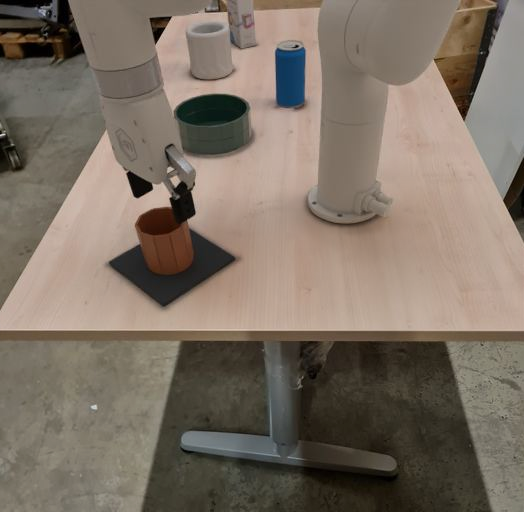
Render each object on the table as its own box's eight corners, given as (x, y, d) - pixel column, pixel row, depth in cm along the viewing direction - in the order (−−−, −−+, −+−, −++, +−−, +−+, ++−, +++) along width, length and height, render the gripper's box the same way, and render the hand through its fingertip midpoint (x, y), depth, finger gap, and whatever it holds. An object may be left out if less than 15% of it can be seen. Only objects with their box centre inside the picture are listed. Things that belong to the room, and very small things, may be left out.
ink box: (228, 40, 138) (224, -10, 129) (244, 36, 139) (241, -13, 130) (240, 49, 133) (236, -3, 124) (256, 45, 134) (254, -6, 125)
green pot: (266, 136, 100) (265, 106, 95) (211, 165, 93) (207, 135, 88) (218, 115, 107) (214, 87, 102) (164, 141, 100) (158, 112, 96)
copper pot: (203, 258, 74) (196, 219, 69) (165, 282, 71) (154, 243, 65) (174, 239, 77) (166, 200, 72) (136, 261, 74) (124, 223, 69)
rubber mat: (235, 259, 74) (235, 256, 74) (163, 307, 68) (162, 304, 68) (179, 224, 81) (178, 221, 81) (109, 264, 75) (108, 261, 75)
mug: (239, 75, 121) (235, 29, 114) (198, 83, 119) (192, 37, 111) (222, 57, 130) (217, 14, 122) (183, 65, 127) (176, 21, 120)
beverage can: (302, 111, 106) (303, 50, 97) (273, 109, 107) (272, 49, 98) (306, 98, 110) (307, 39, 101) (279, 97, 112) (277, 38, 102)
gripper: (61, 70, 57) (108, 196, 70) (146, 108, 48) (182, 244, 62) (113, 49, 60) (149, 174, 73) (202, 81, 51) (224, 216, 65)
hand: (164, 205), depth 67 cm, fingers open, 9 cm apart
